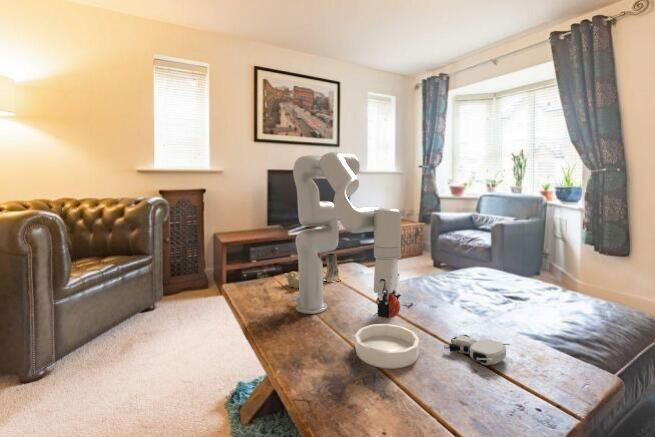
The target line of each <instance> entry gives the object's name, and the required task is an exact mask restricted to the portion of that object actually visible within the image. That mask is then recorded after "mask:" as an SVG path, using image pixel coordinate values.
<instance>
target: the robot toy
mask: <svg viewBox="0 0 655 437" xmlns="http://www.w3.org/2000/svg"><path fill="white" fill-rule="evenodd" d="M510 345H511V343H502V342H501V341H497V340H493V339H490V338H486V339H485V338H483V339H479V340H475V339H474V338H472V337H471V336H469V335H467V334H459V336H454V337H452V338H451V339H450V343H449V344H446V343H445V344H443V349H445V350H449V351H450V352H458V353H461V354H467V355H469V356H470V358H471V359H472V360H473V361H475V362H478V363H480V364H481V365H484V366H489V365H496V364H499V363H500V362H502V361H503V360H504V359H505V358H506V356H507V347H506V346H510Z"/></svg>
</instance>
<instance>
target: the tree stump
mask: <svg viewBox="0 0 655 437" xmlns="http://www.w3.org/2000/svg"><path fill="white" fill-rule="evenodd" d="M325 256H326V257H325V264H326V273H325V275H324V276H323V279H325V280H326V281H327V282H326V283H332V281H338V280H340V279H339V277H340V276H339V271H340V270H339V267H338V260H337V259H338V258H337V254H336V253H328V254H326V255H325Z"/></svg>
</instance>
